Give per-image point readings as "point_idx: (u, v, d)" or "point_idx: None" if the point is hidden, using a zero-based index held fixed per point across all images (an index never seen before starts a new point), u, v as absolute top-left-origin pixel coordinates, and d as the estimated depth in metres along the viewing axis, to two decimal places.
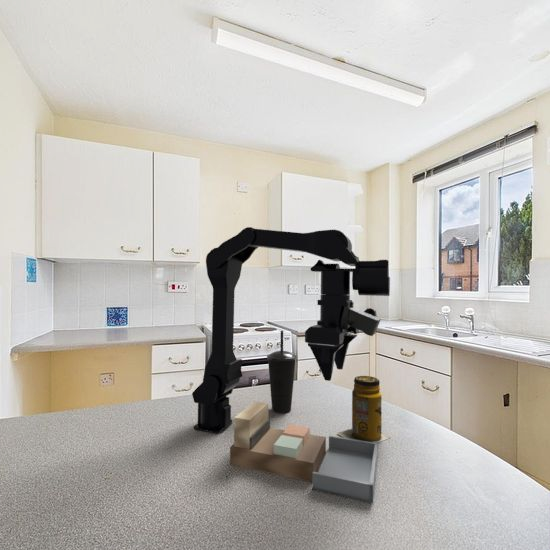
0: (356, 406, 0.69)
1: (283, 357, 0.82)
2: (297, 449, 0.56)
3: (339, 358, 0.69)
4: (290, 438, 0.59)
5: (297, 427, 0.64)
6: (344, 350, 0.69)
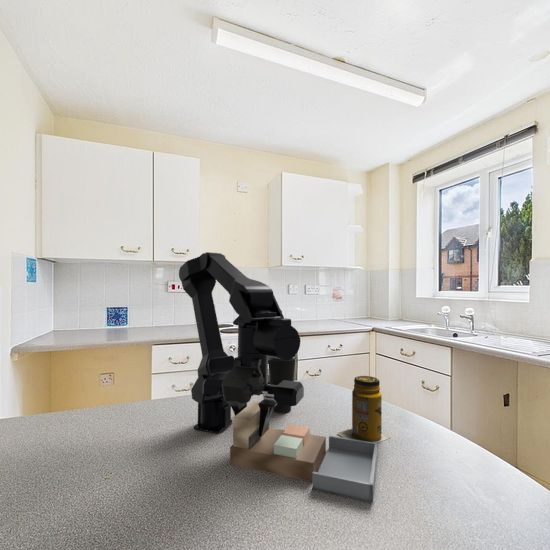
0: (356, 406, 0.69)
1: None
2: (297, 449, 0.56)
3: None
4: (290, 438, 0.59)
5: (297, 427, 0.64)
6: None
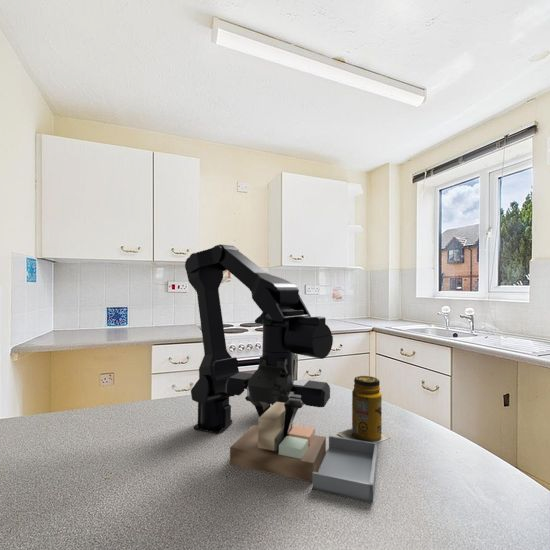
0: (356, 406, 0.69)
1: None
2: (302, 450, 0.55)
3: None
4: (295, 439, 0.58)
5: (302, 427, 0.63)
6: None
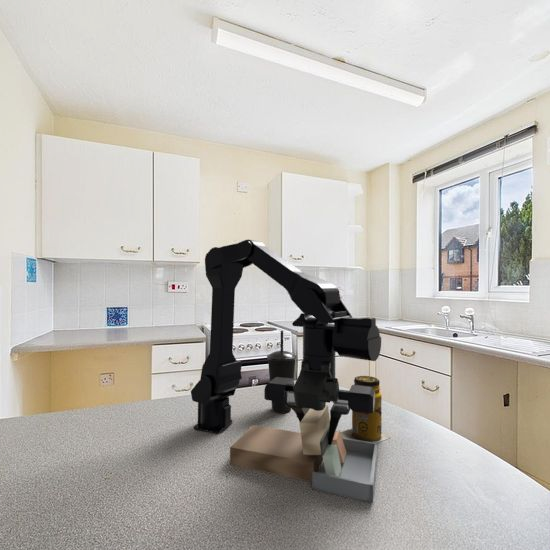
0: None
1: (283, 357, 0.82)
2: None
3: None
4: (338, 458, 0.55)
5: (342, 441, 0.61)
6: None
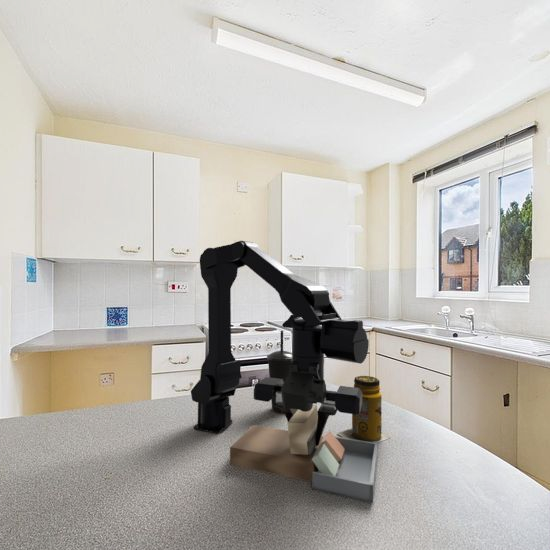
0: None
1: (283, 357, 0.82)
2: None
3: None
4: (330, 455, 0.56)
5: (336, 440, 0.61)
6: None
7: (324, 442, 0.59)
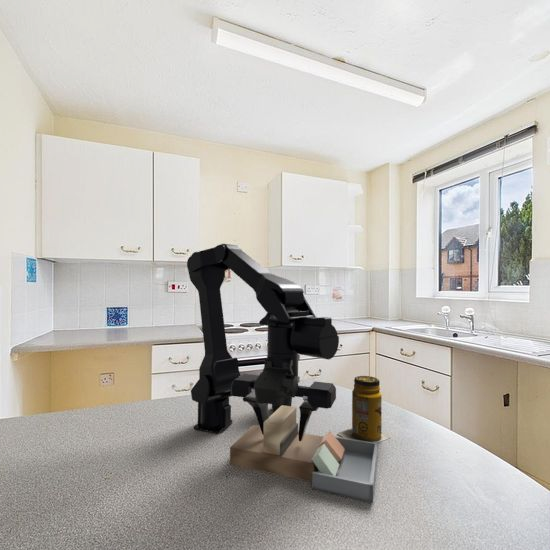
0: (356, 406, 0.69)
1: None
2: None
3: None
4: (330, 455, 0.56)
5: (336, 440, 0.61)
6: None
7: (324, 442, 0.59)
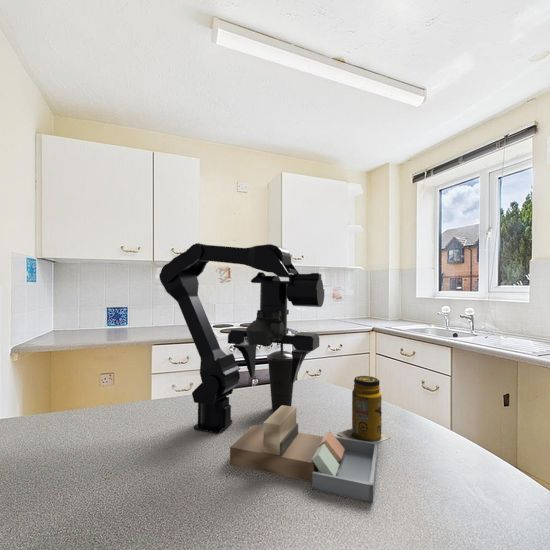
0: (356, 406, 0.69)
1: (283, 357, 0.82)
2: None
3: None
4: (330, 455, 0.56)
5: (336, 440, 0.61)
6: None
7: (324, 442, 0.59)
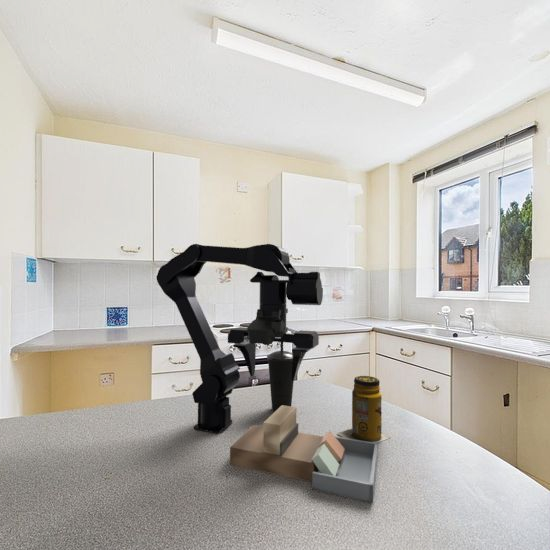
0: (356, 406, 0.69)
1: (283, 357, 0.82)
2: None
3: None
4: (330, 455, 0.56)
5: (336, 440, 0.61)
6: None
7: (324, 442, 0.59)
